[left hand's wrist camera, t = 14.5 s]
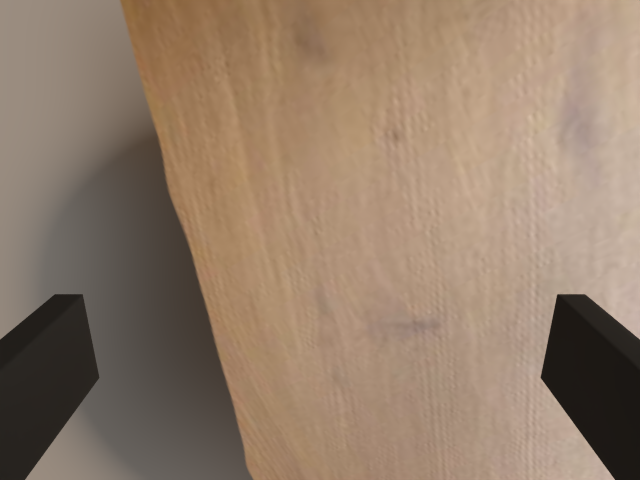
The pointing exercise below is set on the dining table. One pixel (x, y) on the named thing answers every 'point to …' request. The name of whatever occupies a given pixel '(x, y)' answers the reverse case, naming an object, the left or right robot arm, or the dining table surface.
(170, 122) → the dining table surface
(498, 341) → the dining table surface
